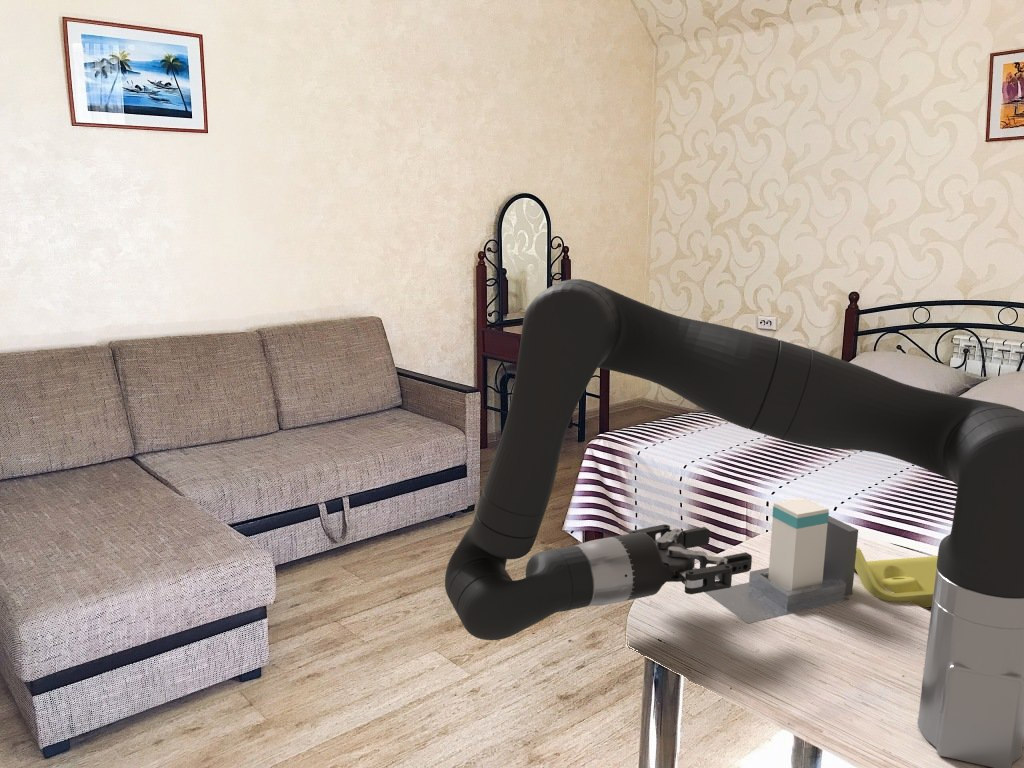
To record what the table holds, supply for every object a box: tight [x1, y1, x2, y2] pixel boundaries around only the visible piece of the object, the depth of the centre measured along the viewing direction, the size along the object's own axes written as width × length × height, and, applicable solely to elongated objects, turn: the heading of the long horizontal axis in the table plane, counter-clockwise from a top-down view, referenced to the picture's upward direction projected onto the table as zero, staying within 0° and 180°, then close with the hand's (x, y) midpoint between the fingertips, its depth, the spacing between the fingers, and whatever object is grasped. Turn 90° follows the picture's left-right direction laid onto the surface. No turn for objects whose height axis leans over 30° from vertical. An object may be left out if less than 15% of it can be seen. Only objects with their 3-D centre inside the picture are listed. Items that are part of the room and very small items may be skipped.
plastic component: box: [854, 547, 938, 608], centre depth 115 cm, size 20×7×10 cm
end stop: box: [822, 515, 859, 597], centre depth 113 cm, size 2×7×10 cm, turn 22°
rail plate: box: [704, 567, 850, 624], centre depth 110 cm, size 16×9×4 cm, turn 113°
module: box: [768, 497, 830, 591], centre depth 110 cm, size 5×5×12 cm
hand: (728, 547), depth 106 cm, fingers open, 8 cm apart
